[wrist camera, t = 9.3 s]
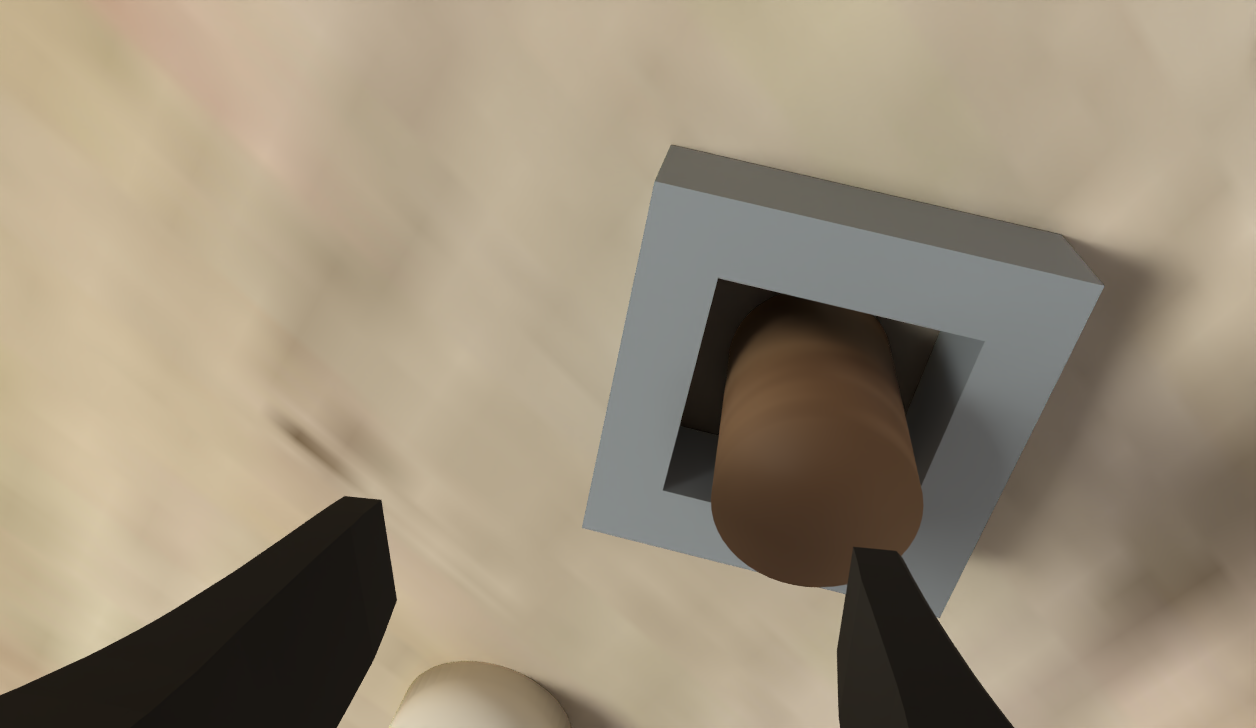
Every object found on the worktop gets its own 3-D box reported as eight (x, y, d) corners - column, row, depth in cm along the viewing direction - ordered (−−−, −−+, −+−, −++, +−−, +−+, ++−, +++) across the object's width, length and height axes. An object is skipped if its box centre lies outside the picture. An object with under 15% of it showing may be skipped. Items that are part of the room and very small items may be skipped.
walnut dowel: (922, 329, 21) (965, 471, 16) (842, 452, 23) (858, 614, 18) (771, 263, 21) (766, 385, 16) (703, 392, 23) (678, 539, 18)
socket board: (1061, 234, 20) (1104, 285, 17) (922, 539, 24) (939, 617, 21) (671, 144, 20) (654, 181, 18) (603, 460, 24) (582, 527, 22)
